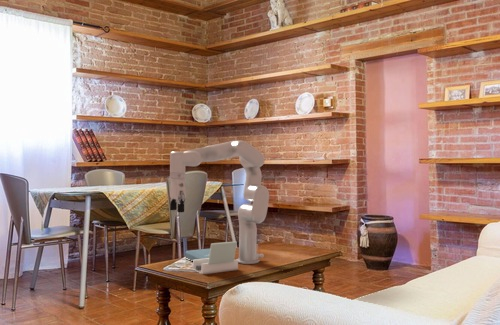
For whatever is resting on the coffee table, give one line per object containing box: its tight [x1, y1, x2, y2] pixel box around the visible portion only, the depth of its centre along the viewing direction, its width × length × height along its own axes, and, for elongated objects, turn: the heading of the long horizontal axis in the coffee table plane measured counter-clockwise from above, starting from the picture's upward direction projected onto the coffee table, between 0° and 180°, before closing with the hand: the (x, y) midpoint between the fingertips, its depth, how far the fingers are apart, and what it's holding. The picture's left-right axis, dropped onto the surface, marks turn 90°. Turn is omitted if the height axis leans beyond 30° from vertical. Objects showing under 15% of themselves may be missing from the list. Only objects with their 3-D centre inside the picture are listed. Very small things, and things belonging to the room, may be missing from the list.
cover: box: [208, 240, 238, 264], centre depth 235 cm, size 14×11×1 cm
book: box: [184, 248, 210, 261], centre depth 260 cm, size 23×16×5 cm
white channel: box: [192, 258, 239, 275], centre depth 241 cm, size 20×11×5 cm, turn 122°
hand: (177, 211), depth 236 cm, fingers open, 9 cm apart
